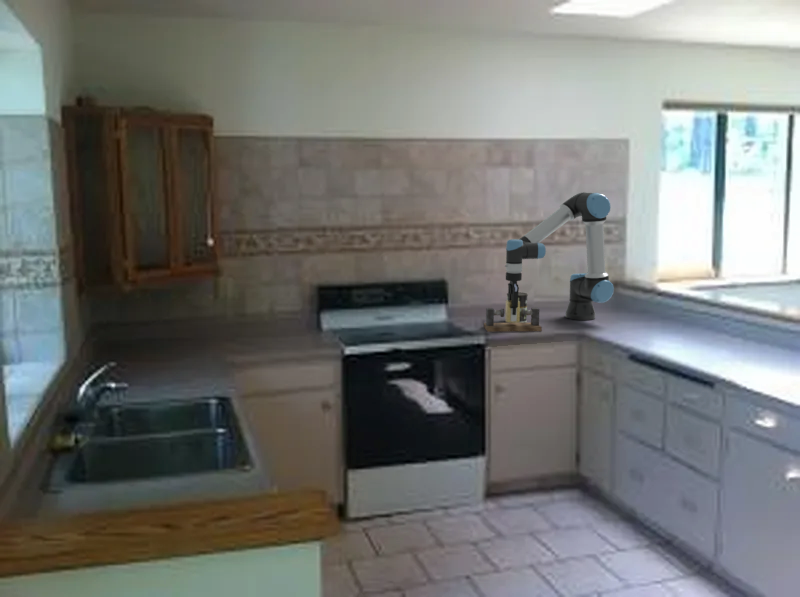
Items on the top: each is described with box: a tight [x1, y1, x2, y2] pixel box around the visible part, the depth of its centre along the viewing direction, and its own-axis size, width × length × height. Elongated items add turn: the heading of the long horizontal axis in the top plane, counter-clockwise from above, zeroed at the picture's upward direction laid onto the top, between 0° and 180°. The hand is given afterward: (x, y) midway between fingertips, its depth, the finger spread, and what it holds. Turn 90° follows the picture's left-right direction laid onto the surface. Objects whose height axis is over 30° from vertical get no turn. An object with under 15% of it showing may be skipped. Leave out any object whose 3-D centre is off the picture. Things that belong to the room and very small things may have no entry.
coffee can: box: [506, 291, 529, 323], centre depth 403 cm, size 10×10×14 cm
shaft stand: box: [483, 307, 543, 333], centre depth 384 cm, size 26×11×10 cm, turn 93°
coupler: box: [504, 299, 520, 323], centre depth 384 cm, size 6×4×10 cm
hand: (512, 320), depth 385 cm, fingers closed on coupler, 4 cm apart
